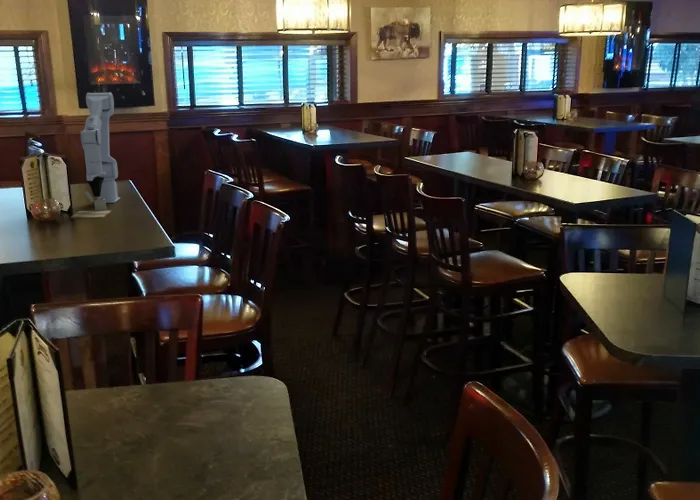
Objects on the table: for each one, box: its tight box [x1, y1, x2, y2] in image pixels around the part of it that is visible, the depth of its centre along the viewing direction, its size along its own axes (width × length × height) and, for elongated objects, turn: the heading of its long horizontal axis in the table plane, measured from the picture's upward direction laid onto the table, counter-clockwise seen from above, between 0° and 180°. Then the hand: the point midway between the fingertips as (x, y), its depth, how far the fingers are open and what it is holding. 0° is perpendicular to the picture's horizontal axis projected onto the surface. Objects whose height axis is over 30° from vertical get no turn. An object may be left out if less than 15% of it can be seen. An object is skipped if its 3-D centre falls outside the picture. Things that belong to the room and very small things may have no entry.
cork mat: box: [70, 209, 113, 219], centre depth 258 cm, size 11×12×1 cm
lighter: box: [84, 190, 108, 211], centre depth 264 cm, size 7×2×8 cm, turn 112°
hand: (97, 196), depth 266 cm, fingers closed
